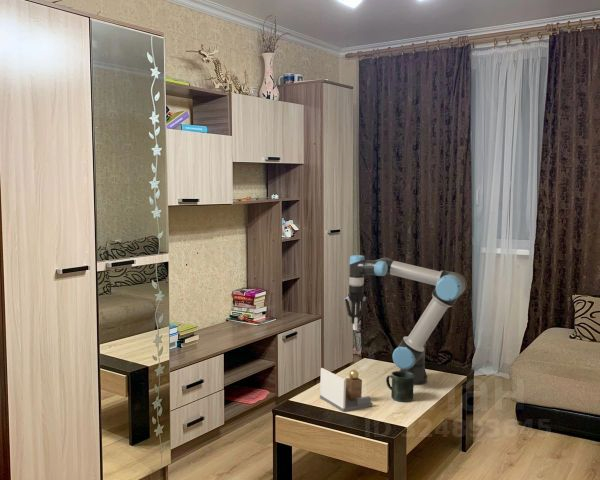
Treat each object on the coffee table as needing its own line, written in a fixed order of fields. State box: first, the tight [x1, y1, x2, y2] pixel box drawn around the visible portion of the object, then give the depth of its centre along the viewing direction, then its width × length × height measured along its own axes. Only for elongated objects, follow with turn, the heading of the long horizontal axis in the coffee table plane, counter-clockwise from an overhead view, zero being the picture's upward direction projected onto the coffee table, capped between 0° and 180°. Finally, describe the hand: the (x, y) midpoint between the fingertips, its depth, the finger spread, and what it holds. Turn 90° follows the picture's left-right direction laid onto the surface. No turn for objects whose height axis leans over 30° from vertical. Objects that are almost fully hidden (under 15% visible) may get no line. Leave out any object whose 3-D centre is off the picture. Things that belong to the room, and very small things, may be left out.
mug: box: [385, 370, 415, 403], centre depth 294 cm, size 11×15×12 cm
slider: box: [344, 369, 363, 400], centre depth 287 cm, size 5×6×13 cm
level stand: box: [319, 367, 373, 413], centre depth 287 cm, size 20×16×14 cm
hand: (355, 329), depth 320 cm, fingers closed
